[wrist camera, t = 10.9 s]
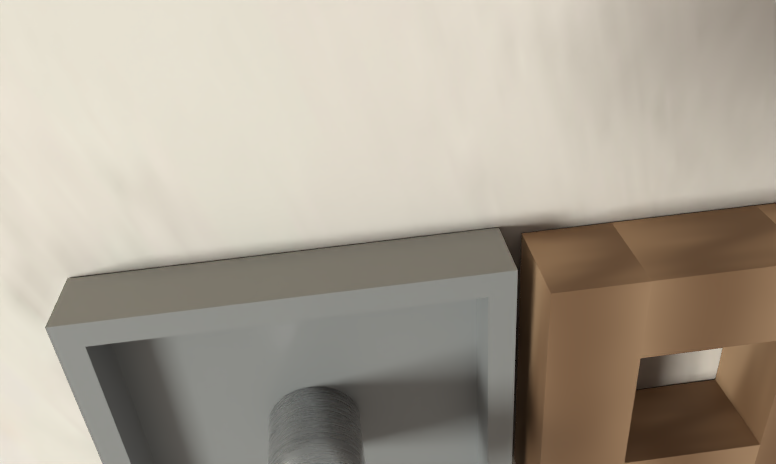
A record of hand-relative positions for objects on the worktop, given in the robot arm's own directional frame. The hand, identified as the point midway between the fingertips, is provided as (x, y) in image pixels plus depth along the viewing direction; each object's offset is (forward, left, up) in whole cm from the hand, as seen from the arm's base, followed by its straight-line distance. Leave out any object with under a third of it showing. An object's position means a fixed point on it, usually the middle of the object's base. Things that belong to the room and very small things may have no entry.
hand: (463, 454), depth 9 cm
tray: (+3, +11, -12) cm, 17 cm away
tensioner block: (-9, +10, -12) cm, 18 cm away
